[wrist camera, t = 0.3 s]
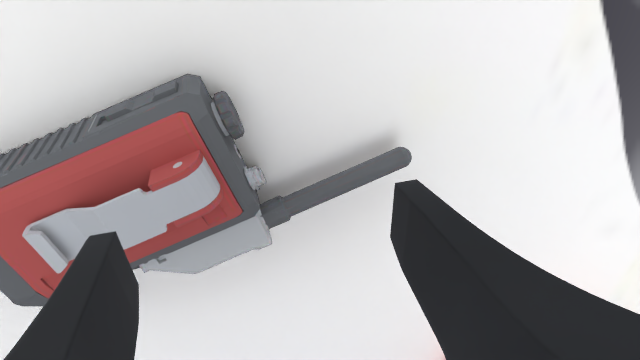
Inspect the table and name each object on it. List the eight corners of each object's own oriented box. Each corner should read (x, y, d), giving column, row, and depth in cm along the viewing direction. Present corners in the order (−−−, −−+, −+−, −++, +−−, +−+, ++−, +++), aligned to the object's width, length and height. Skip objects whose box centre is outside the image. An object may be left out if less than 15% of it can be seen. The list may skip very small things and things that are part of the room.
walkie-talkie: (54, 311, 25) (405, 158, 25) (29, 382, 21) (442, 202, 21) (-76, 180, 20) (357, -6, 20) (-138, 242, 16) (393, 13, 17)
